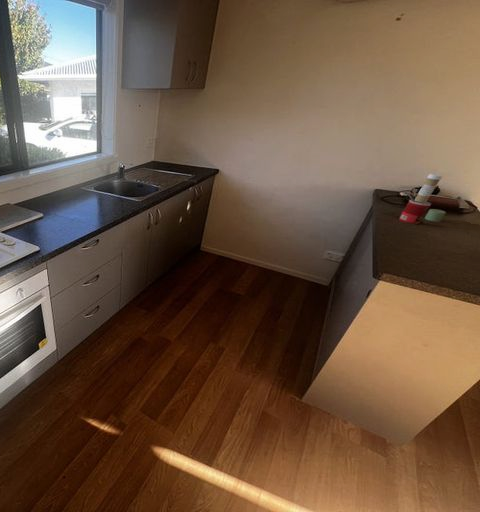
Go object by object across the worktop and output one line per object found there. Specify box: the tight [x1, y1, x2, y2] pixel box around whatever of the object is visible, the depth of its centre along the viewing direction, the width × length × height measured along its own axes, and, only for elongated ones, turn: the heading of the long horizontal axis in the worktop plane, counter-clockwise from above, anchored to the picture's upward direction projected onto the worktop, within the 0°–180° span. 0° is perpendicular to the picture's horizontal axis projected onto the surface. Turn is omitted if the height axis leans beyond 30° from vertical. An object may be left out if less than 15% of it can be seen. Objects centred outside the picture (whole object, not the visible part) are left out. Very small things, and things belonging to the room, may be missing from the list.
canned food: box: [398, 199, 432, 225], centre depth 149 cm, size 8×8×11 cm
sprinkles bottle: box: [414, 173, 443, 203], centre depth 143 cm, size 5×5×14 cm
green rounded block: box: [424, 208, 447, 223], centre depth 153 cm, size 6×6×5 cm
